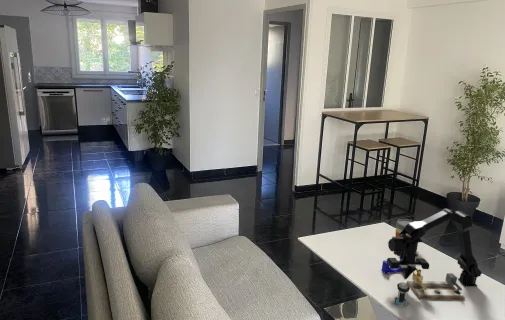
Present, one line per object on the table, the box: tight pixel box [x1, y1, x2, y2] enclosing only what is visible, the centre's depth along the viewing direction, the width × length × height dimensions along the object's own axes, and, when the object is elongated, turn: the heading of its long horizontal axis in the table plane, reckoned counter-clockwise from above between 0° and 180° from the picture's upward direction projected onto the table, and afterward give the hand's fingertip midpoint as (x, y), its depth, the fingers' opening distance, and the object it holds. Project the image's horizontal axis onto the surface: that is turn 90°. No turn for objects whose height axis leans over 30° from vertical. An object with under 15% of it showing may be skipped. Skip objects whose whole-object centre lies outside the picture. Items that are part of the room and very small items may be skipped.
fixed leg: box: [444, 272, 463, 293], centre depth 185 cm, size 3×10×5 cm, turn 3°
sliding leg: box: [411, 268, 427, 292], centre depth 183 cm, size 3×10×7 cm, turn 3°
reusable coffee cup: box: [395, 218, 415, 237], centre depth 228 cm, size 13×13×15 cm
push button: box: [394, 282, 411, 307], centre depth 173 cm, size 7×5×10 cm
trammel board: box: [406, 280, 466, 301], centre depth 185 cm, size 22×13×3 cm, turn 93°
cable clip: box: [381, 258, 403, 274], centre depth 202 cm, size 12×4×6 cm, turn 107°
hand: (405, 278), depth 186 cm, fingers closed
